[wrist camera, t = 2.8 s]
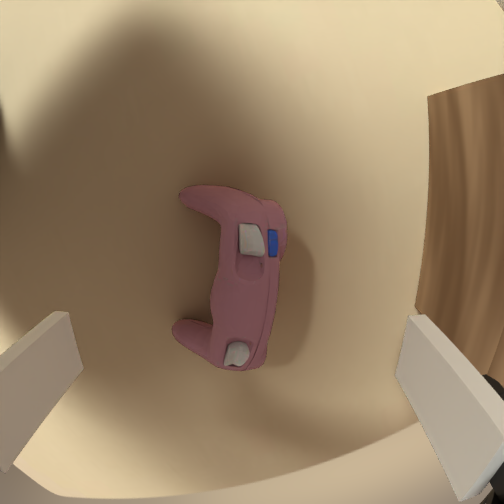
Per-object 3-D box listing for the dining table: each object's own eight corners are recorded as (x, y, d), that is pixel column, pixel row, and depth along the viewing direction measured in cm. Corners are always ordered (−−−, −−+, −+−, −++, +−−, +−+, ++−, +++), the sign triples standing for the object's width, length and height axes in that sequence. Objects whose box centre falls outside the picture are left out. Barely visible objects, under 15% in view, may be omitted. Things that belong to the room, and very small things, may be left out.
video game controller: (231, 327, 22) (281, 388, 16) (168, 332, 20) (199, 404, 14) (248, 184, 20) (317, 203, 14) (176, 178, 17) (216, 195, 12)
